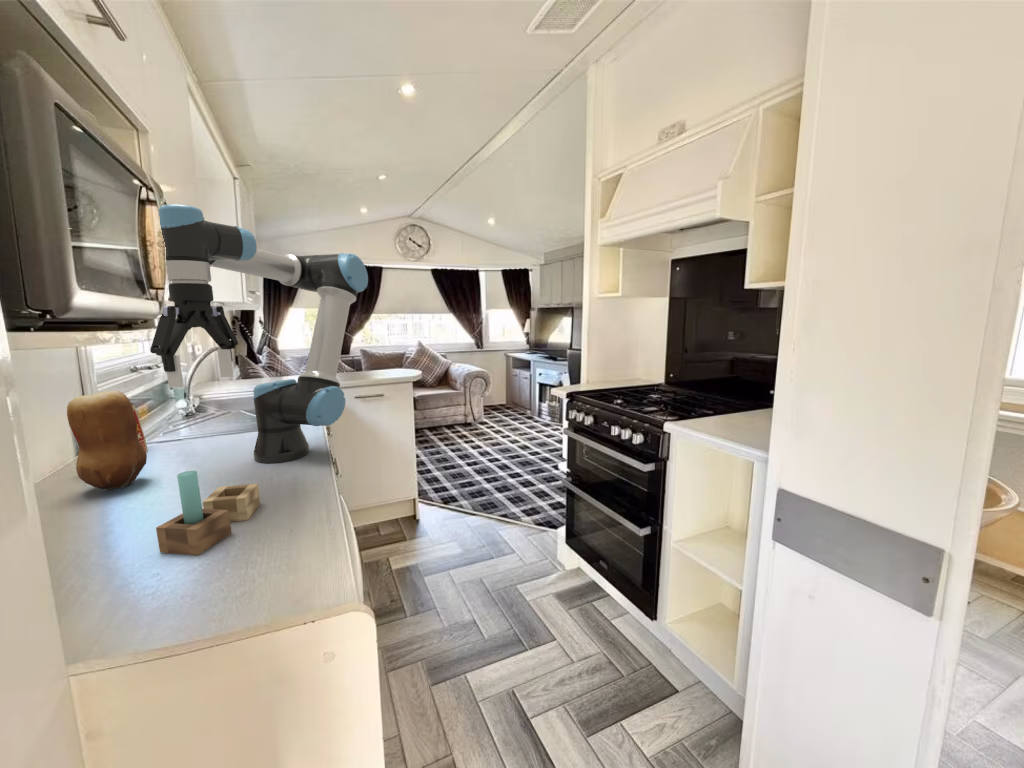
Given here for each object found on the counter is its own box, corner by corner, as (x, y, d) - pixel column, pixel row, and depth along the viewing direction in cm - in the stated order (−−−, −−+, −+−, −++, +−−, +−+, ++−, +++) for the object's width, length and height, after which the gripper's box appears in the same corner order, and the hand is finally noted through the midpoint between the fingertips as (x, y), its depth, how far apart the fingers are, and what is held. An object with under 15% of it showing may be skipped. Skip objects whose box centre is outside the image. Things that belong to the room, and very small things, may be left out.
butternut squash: (81, 488, 112) (62, 392, 108) (148, 473, 121) (134, 384, 117) (81, 504, 102) (61, 399, 98) (154, 487, 112) (139, 391, 107)
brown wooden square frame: (196, 531, 89) (192, 508, 88) (231, 533, 88) (228, 510, 87) (160, 552, 81) (155, 527, 80) (198, 555, 80) (194, 529, 79)
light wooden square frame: (221, 507, 100) (219, 486, 99) (260, 504, 101) (257, 483, 101) (205, 524, 92) (202, 501, 91) (247, 519, 94) (245, 497, 93)
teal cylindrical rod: (196, 538, 86) (187, 470, 84) (210, 539, 86) (200, 471, 84) (183, 546, 83) (172, 476, 81) (197, 547, 83) (187, 477, 81)
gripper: (220, 286, 106) (230, 373, 109) (115, 279, 81) (133, 392, 85) (248, 285, 105) (258, 373, 108) (150, 278, 80) (167, 392, 84)
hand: (203, 381), depth 97 cm, fingers open, 13 cm apart
